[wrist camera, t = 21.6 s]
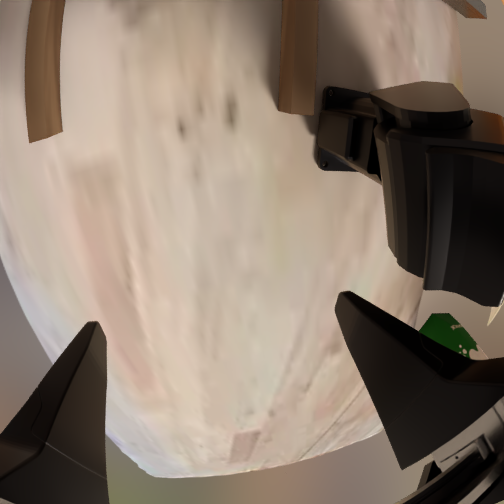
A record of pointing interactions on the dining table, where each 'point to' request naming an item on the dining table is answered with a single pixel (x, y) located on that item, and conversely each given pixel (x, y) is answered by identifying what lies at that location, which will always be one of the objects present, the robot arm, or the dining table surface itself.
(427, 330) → the milk carton
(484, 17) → the bar
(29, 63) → the stall
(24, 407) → the robot arm
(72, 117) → the dining table surface
